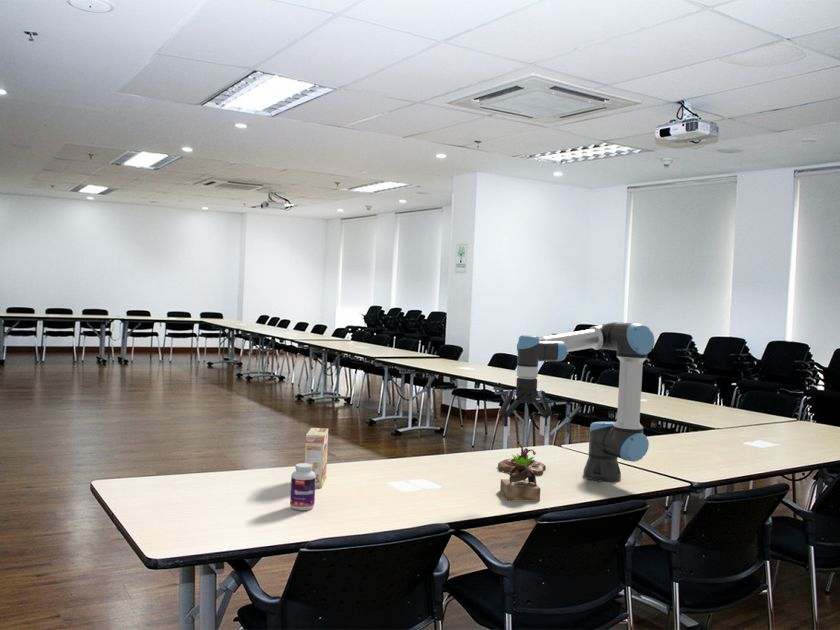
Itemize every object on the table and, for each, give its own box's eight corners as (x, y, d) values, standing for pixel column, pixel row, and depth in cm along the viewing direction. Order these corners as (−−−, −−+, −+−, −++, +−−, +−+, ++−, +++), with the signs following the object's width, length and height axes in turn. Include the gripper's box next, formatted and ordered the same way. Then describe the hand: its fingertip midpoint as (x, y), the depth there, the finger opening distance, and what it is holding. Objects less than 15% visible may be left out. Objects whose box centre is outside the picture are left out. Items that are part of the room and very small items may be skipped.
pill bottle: (291, 512, 234) (292, 468, 234) (288, 504, 242) (290, 462, 242) (316, 511, 237) (317, 467, 236) (312, 503, 244) (314, 461, 244)
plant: (503, 462, 318) (504, 437, 318) (547, 467, 312) (548, 442, 312) (493, 472, 299) (495, 446, 299) (540, 478, 293) (542, 451, 293)
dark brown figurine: (540, 489, 259) (531, 471, 257) (515, 499, 260) (506, 480, 258) (536, 473, 270) (527, 455, 268) (513, 482, 272) (504, 464, 270)
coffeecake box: (322, 488, 264) (324, 435, 263) (302, 487, 264) (304, 434, 263) (327, 477, 279) (329, 427, 278) (308, 477, 278) (310, 427, 278)
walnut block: (531, 492, 271) (531, 479, 271) (539, 502, 259) (540, 488, 259) (500, 492, 270) (500, 479, 270) (507, 501, 258) (507, 487, 258)
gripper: (554, 376, 269) (551, 432, 270) (491, 376, 263) (489, 433, 264) (562, 379, 262) (560, 436, 263) (498, 378, 256) (495, 437, 257)
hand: (524, 435), depth 263 cm, fingers open, 13 cm apart
